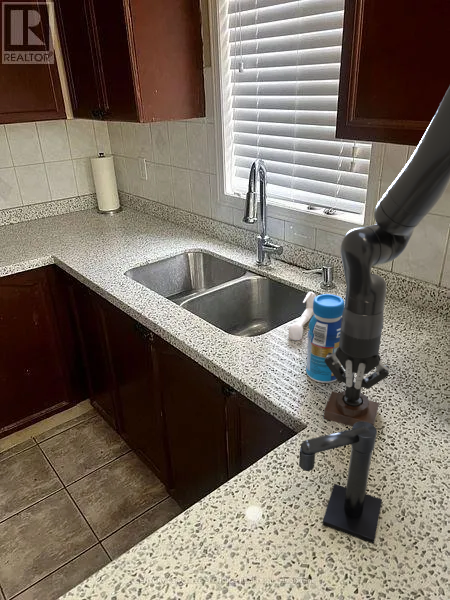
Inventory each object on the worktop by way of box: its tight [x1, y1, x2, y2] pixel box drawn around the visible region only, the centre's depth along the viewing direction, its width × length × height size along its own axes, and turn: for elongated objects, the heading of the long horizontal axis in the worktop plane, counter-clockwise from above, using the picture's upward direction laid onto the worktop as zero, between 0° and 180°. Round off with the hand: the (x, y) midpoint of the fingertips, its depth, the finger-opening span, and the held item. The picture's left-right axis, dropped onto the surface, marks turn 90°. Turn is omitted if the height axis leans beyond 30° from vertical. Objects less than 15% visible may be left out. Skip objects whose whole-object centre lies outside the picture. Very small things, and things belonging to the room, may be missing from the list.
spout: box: [298, 421, 378, 472], centre depth 65 cm, size 12×3×4 cm, turn 106°
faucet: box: [288, 291, 317, 341], centre depth 127 cm, size 4×18×10 cm, turn 153°
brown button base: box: [323, 389, 380, 428], centre depth 94 cm, size 10×7×4 cm
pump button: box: [344, 397, 362, 407], centre depth 93 cm, size 4×4×2 cm
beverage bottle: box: [305, 293, 345, 384], centre depth 103 cm, size 8×8×20 cm
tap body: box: [322, 446, 383, 545], centre depth 70 cm, size 8×8×15 cm
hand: (352, 399), depth 93 cm, fingers closed
